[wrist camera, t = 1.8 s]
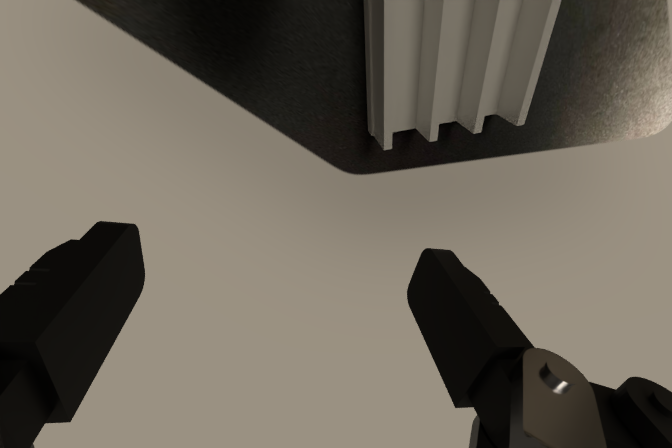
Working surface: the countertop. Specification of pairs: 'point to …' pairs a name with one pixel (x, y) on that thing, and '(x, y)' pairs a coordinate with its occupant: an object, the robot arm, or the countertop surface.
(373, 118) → the dish rack
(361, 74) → the countertop surface
